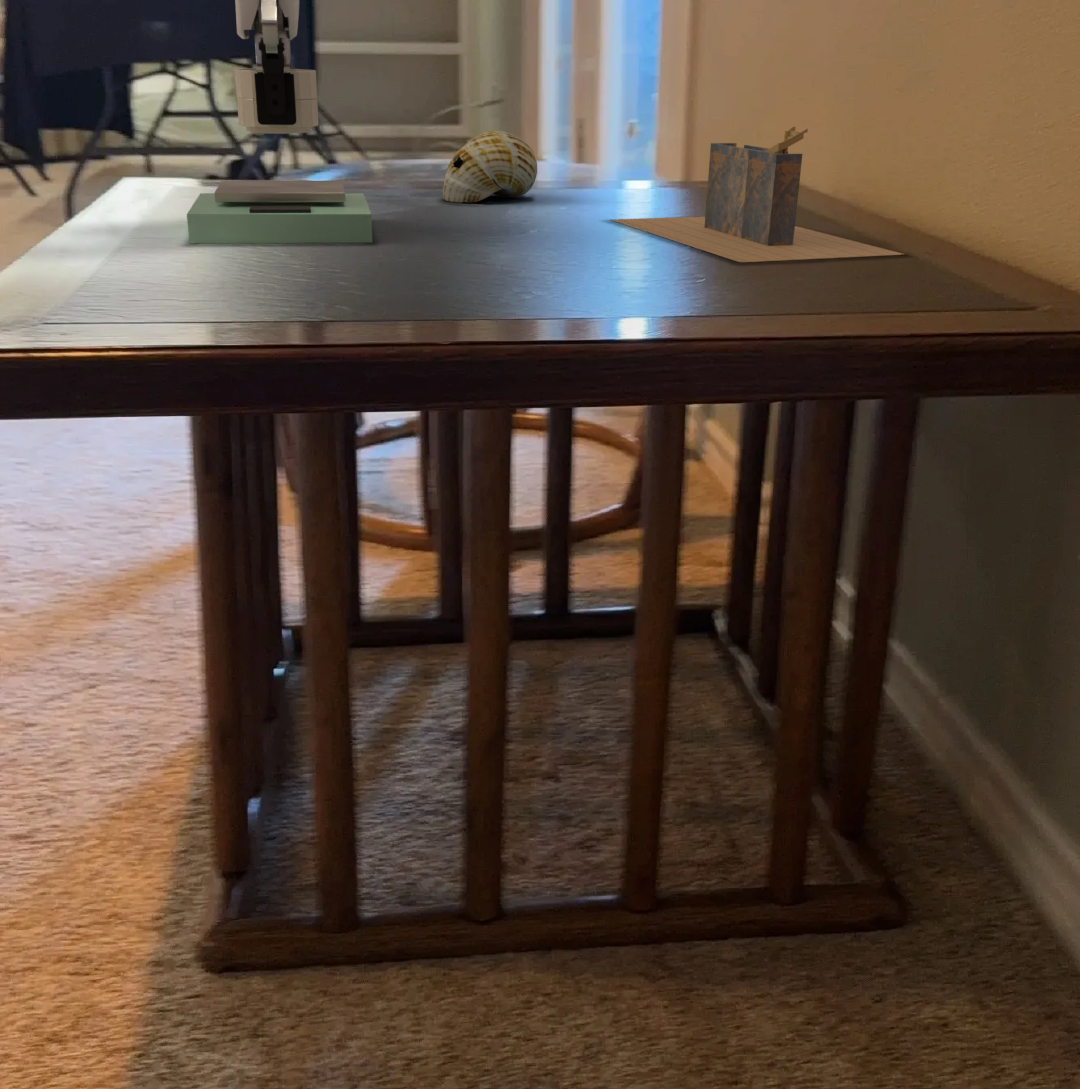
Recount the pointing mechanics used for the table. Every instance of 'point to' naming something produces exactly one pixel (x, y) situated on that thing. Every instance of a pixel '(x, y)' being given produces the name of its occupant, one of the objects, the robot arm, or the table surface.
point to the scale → (279, 221)
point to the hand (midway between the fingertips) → (278, 119)
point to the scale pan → (280, 191)
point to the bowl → (303, 100)
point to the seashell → (490, 168)
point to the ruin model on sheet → (754, 210)
